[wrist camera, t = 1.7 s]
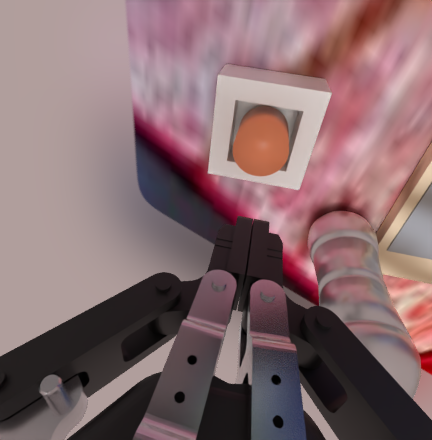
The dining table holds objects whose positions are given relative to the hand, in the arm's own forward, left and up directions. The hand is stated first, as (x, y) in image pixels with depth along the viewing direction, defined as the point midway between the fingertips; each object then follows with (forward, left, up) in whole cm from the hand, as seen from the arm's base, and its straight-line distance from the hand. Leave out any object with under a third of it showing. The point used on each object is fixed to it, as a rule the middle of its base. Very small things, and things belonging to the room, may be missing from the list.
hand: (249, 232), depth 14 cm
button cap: (0, 0, -13) cm, 13 cm away
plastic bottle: (+10, +10, -16) cm, 21 cm away
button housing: (0, 0, -16) cm, 16 cm away
